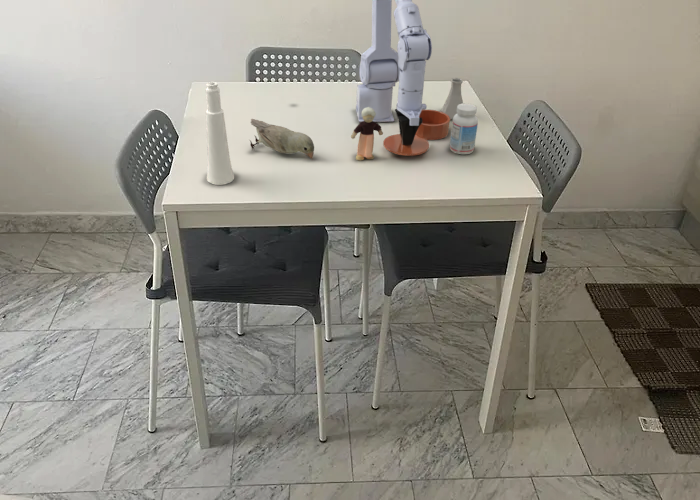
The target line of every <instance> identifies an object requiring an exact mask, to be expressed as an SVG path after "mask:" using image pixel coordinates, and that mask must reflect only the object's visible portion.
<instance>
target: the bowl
mask: <svg viewBox="0 0 700 500" xmlns="http://www.w3.org/2000/svg"><path fill="white" fill-rule="evenodd" d="M419 117H422V119H423V121H422V124H421V125H420V126H419V128H418V130H417V132H416V134H415V135H417V136H420V137H422V138H424V139H426V140H427V141H429V140H430V141H436V140H442V139H445V138H447V136H448V135H449V131H450V124H451V119H450V117H449V116H448V115H447V114H445V113H443V112H441V110H435V109H425V110H422V111H421V113H420V116H419Z"/></svg>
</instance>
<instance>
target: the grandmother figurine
mask: <svg viewBox="0 0 700 500" xmlns="http://www.w3.org/2000/svg"><path fill="white" fill-rule="evenodd" d="M361 114H362V117H363V120H364V121H363V122H359V123H358V124H357V125H356V127H355V128H354V129H353V132H352V134H351V135H350V138H351V139H352V140H354V139H356V137H357V135H358V134H359V137H358V143H357V149H356V156H355V160H356V161H364V160H365V159H366V160H373V159H375V156H374V155H373V153H374V152H373V151H374V144H375V143H374V141H375V132H377V133H378V135H379V136H383V134H384V132H383V130H382V126H381V125H380V124H379V122H373V119H374V117H375V115H376V113H375V111H374V110H373V109H372V108H370V107H367V108H364V109H363V110H362V112H361ZM374 131H375V132H374Z"/></svg>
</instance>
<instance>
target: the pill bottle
mask: <svg viewBox="0 0 700 500" xmlns="http://www.w3.org/2000/svg"><path fill="white" fill-rule="evenodd" d="M477 111H478V108H477V106H476V105H474V104H472V103H467V102H466V103H464V102H463V104H459V105H458V106H457V114H456V115H454V117H453V120H452V123H451V131H450V132H451V133H450V142H449V149H450V151H451V152H452V153H454V154H456V155H457V154H458V155H469V154H472V153H473V152H474V150H475V145H476V138H477V131H478V125H479V117H478V116H477V115H476V114H477Z"/></svg>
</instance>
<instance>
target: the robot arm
mask: <svg viewBox="0 0 700 500" xmlns="http://www.w3.org/2000/svg"><path fill="white" fill-rule="evenodd" d="M394 2H395V5H396V7H395V9H394V10H393V9H392V8H393V7H392V6H393V0H371V46H369V47H368V48H367V49H366V50H365V51H364V52H363V53H361V56H360V63H359V67H358V68H359V79H360V82H361V84H357V87H356V102H355V104H356V105H355V112H356V117H357V120H358V122H359V123H360V122H363V121H364V120H363V117H362V114H361V112H362V110H363V109H364V108H367V107H370V108H372V109H373V110H374V111H375V113H376V115H375V117H374V119H373V122H376V123H388V122H389V123H390V122H391V123H392V122H395V118H394V115H393V113H392V107H393V105H392V104H393V90H394V87H396V83H397V84H398V91H397V103H396V107H395V109H394V112H395V115H396V117H397V121H398V127H399V134H400V136H401V137H402V140H403V144H404V145H412V143H413V140H414V137H415V134H416V132H417V130H418V128H419V126H420V125H421V124H422V121H423V119H422V117H419V116H420V113H421V111H422V110H427V104H426V103H423V95H424V86H425V74H426V66H427V65H426V64H427V61H429V60H430V59H431V56H432V51H433V44H432V39H431V36H430V34H429V33H428V32H427V29H424V25H423V21H422V17H421V14H420V8H419V6H418V5H417V3H414V2H413V0H394ZM392 10H393V17H394V22H395V26H396V31H397V36H398V42H397V46H396V49H397V51H396V50H395V49H394V48H392Z"/></svg>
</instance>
